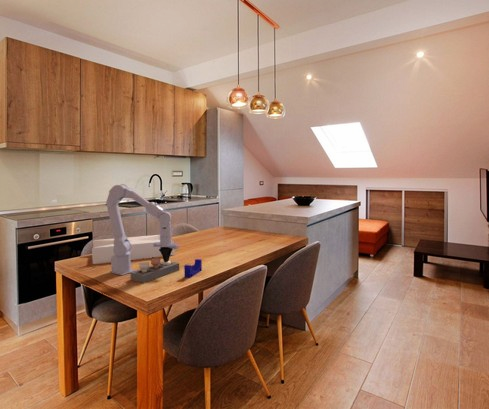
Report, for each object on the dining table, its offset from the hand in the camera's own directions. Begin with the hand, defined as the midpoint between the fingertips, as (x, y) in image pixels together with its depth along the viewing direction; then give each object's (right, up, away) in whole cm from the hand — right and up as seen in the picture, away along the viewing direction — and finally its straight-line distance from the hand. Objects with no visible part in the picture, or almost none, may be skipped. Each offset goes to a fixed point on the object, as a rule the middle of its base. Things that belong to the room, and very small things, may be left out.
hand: (166, 261), depth 161 cm
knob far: (0, -5, 0) cm, 5 cm away
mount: (-4, -5, -5) cm, 8 cm away
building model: (-28, -2, +32) cm, 42 cm away
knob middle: (-4, -3, -6) cm, 7 cm away
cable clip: (+14, -6, -4) cm, 15 cm away
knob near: (-7, -3, -12) cm, 14 cm away
